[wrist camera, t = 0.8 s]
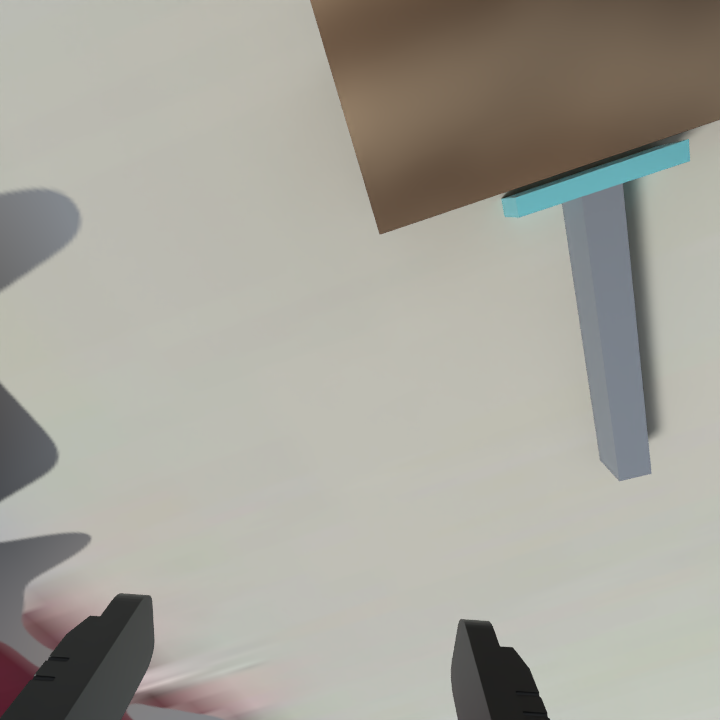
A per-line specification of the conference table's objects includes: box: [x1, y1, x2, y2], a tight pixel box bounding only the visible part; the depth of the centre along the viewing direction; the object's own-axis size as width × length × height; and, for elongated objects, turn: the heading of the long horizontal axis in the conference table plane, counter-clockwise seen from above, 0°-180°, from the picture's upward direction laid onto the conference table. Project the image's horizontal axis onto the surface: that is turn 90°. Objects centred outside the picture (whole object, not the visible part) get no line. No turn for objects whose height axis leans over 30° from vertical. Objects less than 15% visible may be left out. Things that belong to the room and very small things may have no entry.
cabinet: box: [310, 0, 720, 234], centre depth 18 cm, size 11×27×13 cm, turn 108°
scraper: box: [502, 139, 690, 481], centre depth 29 cm, size 23×10×3 cm, turn 18°
